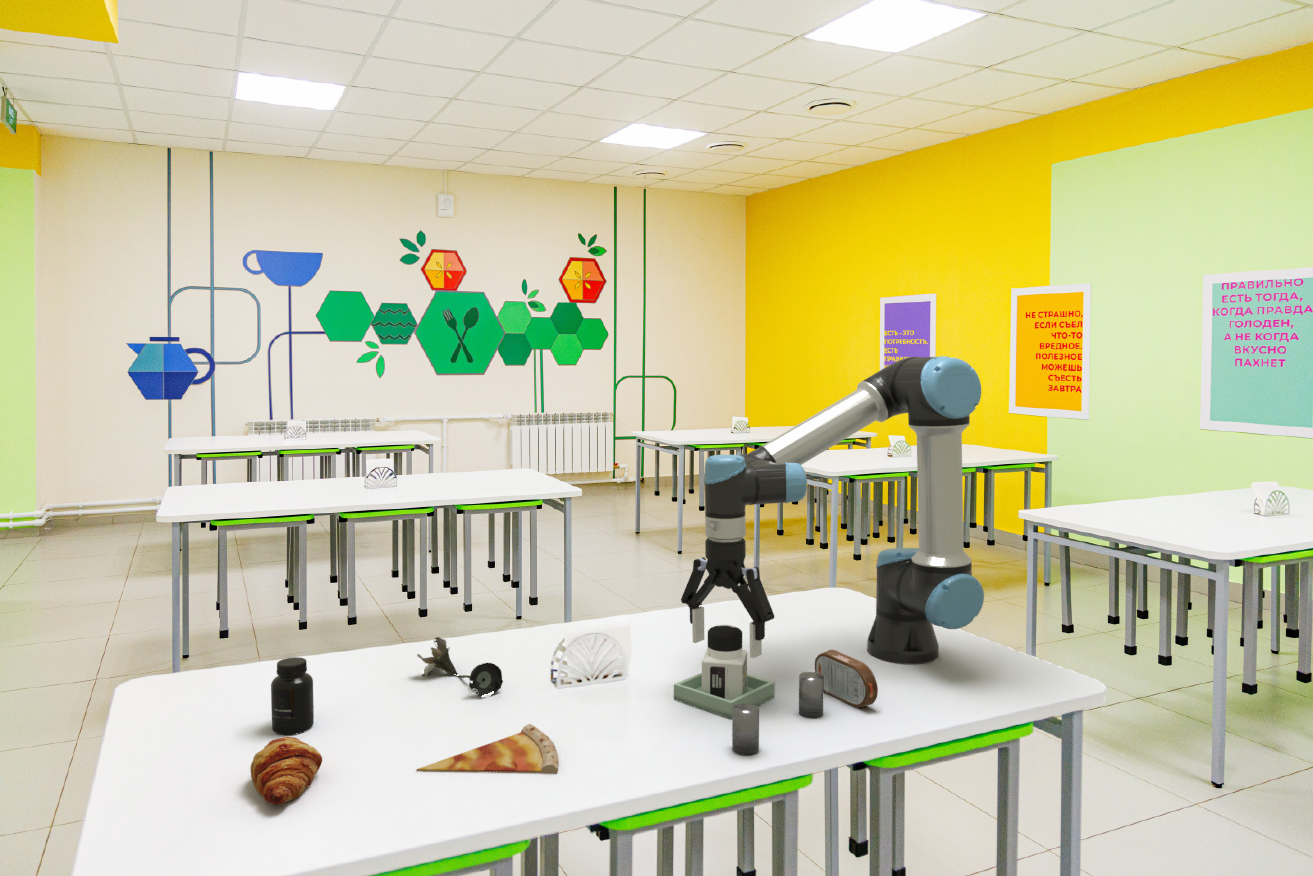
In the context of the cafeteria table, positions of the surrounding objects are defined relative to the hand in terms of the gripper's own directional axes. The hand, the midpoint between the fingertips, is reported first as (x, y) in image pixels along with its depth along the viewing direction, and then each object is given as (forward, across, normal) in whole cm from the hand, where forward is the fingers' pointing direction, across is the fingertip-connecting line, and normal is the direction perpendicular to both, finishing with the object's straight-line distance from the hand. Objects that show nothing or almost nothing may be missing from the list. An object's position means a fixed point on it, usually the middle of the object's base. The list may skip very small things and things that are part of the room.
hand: (726, 648), depth 167 cm
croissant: (+9, -30, -71) cm, 78 cm away
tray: (+10, 0, 0) cm, 10 cm away
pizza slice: (+10, -15, -43) cm, 46 cm away
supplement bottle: (+9, -48, -62) cm, 79 cm away
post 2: (+10, +16, +4) cm, 19 cm away
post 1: (+10, +16, -16) cm, 24 cm away
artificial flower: (+9, -46, -30) cm, 55 cm away
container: (+9, 0, 0) cm, 9 cm away
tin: (+10, +17, +14) cm, 24 cm away
